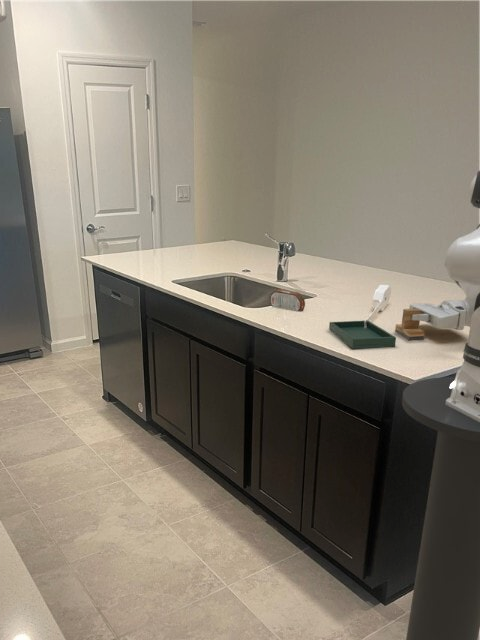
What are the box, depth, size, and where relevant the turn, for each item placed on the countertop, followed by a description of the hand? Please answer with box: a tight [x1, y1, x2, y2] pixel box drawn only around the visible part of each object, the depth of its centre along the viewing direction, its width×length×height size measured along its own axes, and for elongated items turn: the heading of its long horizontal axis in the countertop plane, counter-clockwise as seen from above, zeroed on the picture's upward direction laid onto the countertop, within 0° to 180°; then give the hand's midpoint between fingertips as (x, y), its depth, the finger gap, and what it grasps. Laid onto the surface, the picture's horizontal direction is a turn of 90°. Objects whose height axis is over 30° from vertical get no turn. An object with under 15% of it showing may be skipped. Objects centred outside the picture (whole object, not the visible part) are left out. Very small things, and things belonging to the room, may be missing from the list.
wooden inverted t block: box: [394, 308, 426, 342], centre depth 177 cm, size 10×5×9 cm, turn 6°
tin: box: [269, 288, 306, 312], centre depth 212 cm, size 15×3×8 cm, turn 47°
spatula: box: [364, 284, 392, 329], centre depth 200 cm, size 38×8×4 cm
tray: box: [328, 320, 397, 349], centre depth 177 cm, size 22×14×3 cm, turn 6°
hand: (408, 315), depth 176 cm, fingers closed on wooden inverted t block, 2 cm apart
